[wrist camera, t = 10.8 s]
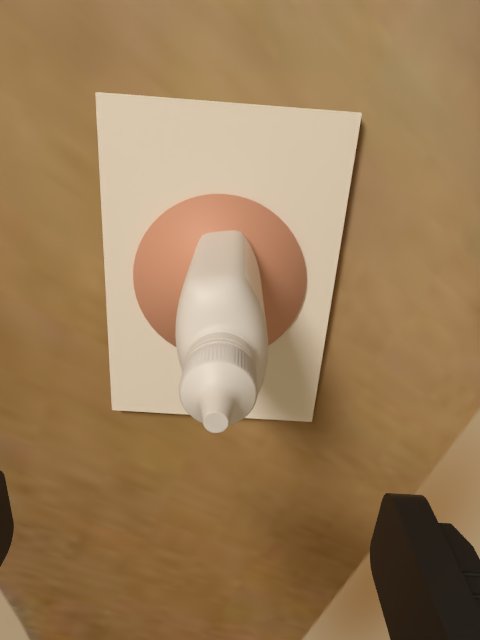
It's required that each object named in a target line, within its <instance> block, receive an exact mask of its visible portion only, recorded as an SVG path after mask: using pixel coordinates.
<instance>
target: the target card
mask: <svg viewBox="0 0 480 640" xmlns="http://www.w3.org/2000/svg"><path fill="white" fill-rule="evenodd" d="M95 93H96V112H97V131H98V151H99V170H100V189H101V208H102V227H103V247H104V266H105V285H106V304H107V324H108V343H109V362H110V381H111V400H112V410H120V411H136V412H153V413H170V414H187V415H189V414H188V412H186V411H185V409H184V408H183V407H184V406H183V405H182V403H181V402H180V400H181V399H180V398H179V397H180V395H179V385H180V381H181V377H182V369H181V366H180V362H179V359H178V354H177V348H176V337H175V331H176V315H177V309H178V304H179V299H180V295H181V291H182V288H183V284H184V281H185V278H186V275H187V272H188V269H189V266H190V264H191V261H192V258H193V255H194V252H195V250H196V247H197V244H198V241H199V239H200V238H201V236H202V235H204V234H206V233H209V232H218V231H228V230H236V231H240V232H242V233H243V234H244V235H245V236H246V238H247V240H248V241H249V243H250V245H251V247H252V249H253V252H254V254H255V257H256V260H257V263H258V267H259V272H260V278H261V286H262V294H263V302H264V310H265V318H266V327H267V335H268V363H267V369H266V374H265V378H264V381H263V384H262V387H261V389H260V392H259V394H258V397H257V400H256V404H255V405H254V407H253V410H251V411H250V413H249V414H248V415H247V416H245V418H254V419H271V420H287V421H304V422H312V418H313V411H314V405H315V399H316V393H317V387H318V381H319V374H320V368H321V362H322V356H323V350H324V344H325V338H326V331H327V325H328V319H329V313H330V307H331V301H332V294H333V288H334V282H335V276H336V270H337V264H338V257H339V251H340V245H341V239H342V233H343V227H344V221H345V214H346V208H347V202H348V196H349V190H350V184H351V177H352V171H353V165H354V159H355V153H356V147H357V140H358V134H359V128H360V122H361V116H362V113H357V112H344V111H331V110H319V109H306V108H293V107H280V106H267V105H254V104H241V103H229V102H216V101H203V100H190V99H177V98H164V97H151V96H139V95H126V94H113V93H100V92H95Z"/></svg>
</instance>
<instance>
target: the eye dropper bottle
mask: <svg viewBox="0 0 480 640" xmlns="http://www.w3.org/2000/svg"><path fill="white" fill-rule="evenodd" d="M175 337H176V348H177V354H178V359H179V362H180V366H181V369H182V377H181V381H180V385H179V395H180V397H179V398H180V399H181V400H180V402H181V403H182V405H183V406H184V407H183V408H184V409H185V411H186V412H188V414H189V415H191V417H193V418H194V419H196V420H197V421H200V422H201V423H203V424H204V427H205V428H206V429H207V430H208V431H210V432H213V433H220V432H222V431H224V430H225V429H226V428H227V426H228V425H231V424H234V423H236V422H239V421H240V420H242V419H243V418H245V416H247V415H248V414H249V413H250V411H251V410H253V407H254V405H255V404H256V400H257V397H258V394H259V392H260V389H261V387H262V384H263V381H264V378H265V374H266V369H267V363H268V335H267V327H266V318H265V310H264V302H263V294H262V286H261V278H260V272H259V267H258V263H257V260H256V257H255V254H254V252H253V249H252V247H251V245H250V243H249V241H248V240H247V238H246V236H245V235H244V234H243V233H242V232H240V231H236V230H228V231H218V232H209V233H206V234H204V235H202V236H201V238H200V239H199V241H198V244H197V247H196V250H195V252H194V255H193V258H192V261H191V264H190V266H189V269H188V272H187V275H186V278H185V281H184V284H183V288H182V291H181V295H180V299H179V304H178V309H177V315H176V331H175Z"/></svg>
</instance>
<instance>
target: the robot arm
mask: <svg viewBox="0 0 480 640" xmlns="http://www.w3.org/2000/svg"><path fill="white" fill-rule="evenodd" d="M13 528H14V524H13V517H12V512H11V507H10V502H9V496H8V491H7V486H6V481H5V476H4V474H3V472H2V471H0V566H1V564H2V563H3V561H4V559H5V557H6V555H7V553H8V550H9V548H10V545H11V541H12V537H13ZM370 563H371V570H372V575H373V579H374V582H375V586H376V590H377V593H378V596H379V600H380V604H381V607H382V611H383V614H384V618H385V621H386V625H387V628H388V632H389V635H390V639H391V640H480V559H479V557H478V555H477V553H476V552H475V550H474V548H473V546H472V545H471V544H470V543H469V542H468V541H467V540H466V539H465V538H464V537H463V536H462V535H461V534H460V533H459V531H458V530H457V529H456V528H455V527H454V526H453V525H452V524H447V523H438V521H437V519H436V517H435V515H434V513H433V511H432V509H431V507H430V505H429V503H428V501H427V499H426V498H425V497H424V496H422V495H410V494H392V493H386V494H385V495H384V497H383V499H382V503H381V507H380V510H379V514H378V518H377V522H376V525H375V529H374V533H373V537H372V540H371V546H370Z"/></svg>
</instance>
